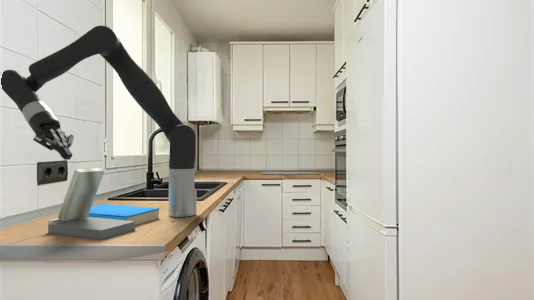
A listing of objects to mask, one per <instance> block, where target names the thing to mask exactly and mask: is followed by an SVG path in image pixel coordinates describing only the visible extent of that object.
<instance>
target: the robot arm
mask: <svg viewBox="0 0 534 300" xmlns="http://www.w3.org/2000/svg"><path fill="white" fill-rule="evenodd" d="M96 55H99V56H101V57H102V58H103V59H104V60H105V61H106V62H107V64H109V65H110V67H112V68H113V70H114V71H115V72H116V74H117V75H118V77H119V79H120V80H121V83H122V84H123V86H124V87H125V88H126V89H125V90H127V91H128V93H129V94H130V96H131V97H132V99H133V100H134V101H135V102H136V103H137V105H139V106H140V108H141V109H142V110H143V111H144V112H145V113H146V114H147V115H148V116H149V117H150V118H151V119H152V120H153V121H154V122H155V123H156V124H157V125H158V127H159V128H160V130H161V131H162V133H163V134H164V136H165V137H166V138H167V140H168V142H169V156H168V217H173V218H186V217H191V216H194V215H195V216H196V215H197V205H198V204H197V203H198V202H197V198H198V197H197V196H198V194H197V191H198V190H197V188H195V175H196V174H195V173H196V172H195V171H196V170H195V166H196V165H195V164H196V151H197V150H196V149H197V136H196V133H195V130H194V129H193V128H192V127H191V126H190V125H187V124H184V123H183V122H182V121H181V119H179V118H178V116H177V115H176V113H174V111H173V110H172V108H171V106H170V105H169V103H168V101H167V99H166V97H165V95H164V94H163V92H162V91H161V89H160V88H159V87H158V85H157V84H156V83H155V81H154V80H153V79H152V77H150V76H149V75H148V73H146V71H145V70H144V69H143V68H141V66H140V65H139V64H137V63H136V61H135V60H134V59H133V58H132V57H131V55H130V54H129V53H128V51H127V49H126V48H125V47H124V45H123V43H122V41H121V40H120V38H119V36H118V35H117V34H116V32H115V31H114V30H113V29H112V28H111V27H110V26H106V25H97V26H94V27H92V28H91V29H90V30H88V31H87V32H86V33H84V34H83V35H82V36H80V37H79V38H77V39H76V40H74V41H72V42H71V43H70V44H68V45H66V46H65V47H63V48H61V49H58V50H57V51H55V52H54V53H51V54H49V55H47V56H45V57H43V58H41V59H39V60H37V61H35V62H33V63H31V64H30V65H29V66H28V72H29V73H30V75H29V76H27V77H25V76H24V75H23V74H22V73H20V72H19V71H17V70H14V69H6V70H3V71H4V72H3V71H2V72H3V74H2V78H1V85H2V88H1V89H2V90H3V92H4V93H5V94H6V95H7V96H8V97H9V98H10V99H11V100H12V101H13V103H14V104H15V105H16V106H17V107H18V110H19V111H20V112H21V114H22V115H23V117H24V120H25V122H27V124H28V126H29V127H30V129H31V130H32V131H33V133H34V137H33V139H32V140H33V141H34V142H36V143H37V144H39V145H41V146H42V147H44V148H46V149H48V150H50V151H53V150H54V151H55V152H57V153H58V154H59V155H60V157H61V158H62V159H63V160H64V161H66V160H67V161H68V160H71V159H72V157H73V152H72V151H71V150H70V148H71V146H72V145H73V142H74V138H75V136H74V134H73V133H72V134H66V133H65V130H63V129H62V128H61V122H60V120H58V118H57V116H55V113H53V112H52V110H51V109H50V107H49V106H48V105H47V104H46V103H45V102H44V100H43V99H42V98H41V96H40V95H39V94H38V93H36V92H38V91H39V90H40V89H41V88H42V87H43V86H44V85H45V84H46V83H48V82H51V81H52V80H54V79H57V78H58V77H60V76H63V74H65V73H66V72H68V71H70V70H71V69H72V68H73V67H74V66H76V65H77V64H79V63H80V62H82V61H84V60H86V59H88V58H90V57H94V56H96Z"/></svg>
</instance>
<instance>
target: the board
mask: <svg viewBox="0 0 534 300" xmlns="http://www.w3.org/2000/svg"><path fill="white" fill-rule="evenodd" d="M135 230H136V225H135V221H127V220H117V219H107V218H98V217H89V214H88V216H86V217H81V218H76V219H71V220H66V221H61V220H60V219H58V217H57V218H53V219H48V220H47V233H48V234H54V235H62V236H69V237H77V238H84V239H86V238H87V239H92V240H99V241H101V240H104V239H105V240H106V239H107V238H112V237H115V236H119V235H123V234H125V233H128V232H132V231H135Z"/></svg>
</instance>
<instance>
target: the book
mask: <svg viewBox="0 0 534 300" xmlns="http://www.w3.org/2000/svg"><path fill="white" fill-rule="evenodd" d="M159 210H160V208H159V207H147V206H137V205H135V206H134V205H120V204H109V203H101V204H97V205H92V206H91V209H90V212H89V217H98V218H107V219H117V220H127V221H135V226H137V225H140V224H143V223H146V222H150V221H153V220H157V219H159V218H160V214H159V213H160V211H159Z"/></svg>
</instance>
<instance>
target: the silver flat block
mask: <svg viewBox="0 0 534 300" xmlns="http://www.w3.org/2000/svg"><path fill="white" fill-rule="evenodd" d="M104 174H105V169H103V168H101V167H89V168H75V169H74V171H73V174H72V176H71V180H70V182H69V185H68V188H67V190H66V194H65V197H64V199H63V201H62V205H61V207H60V211H59V213H58V217H57V218H58V219H60V220H61V221H66V220H71V219H76V218H81V217H86V216H88V214H89V212H90V209H91V206H93V203H94V201H95V198H96V195H97V193H98V190H99V187H100V184H101V181H102V179H103V176H104Z"/></svg>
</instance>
